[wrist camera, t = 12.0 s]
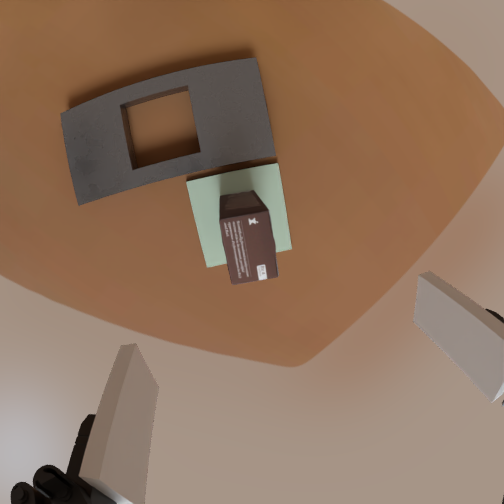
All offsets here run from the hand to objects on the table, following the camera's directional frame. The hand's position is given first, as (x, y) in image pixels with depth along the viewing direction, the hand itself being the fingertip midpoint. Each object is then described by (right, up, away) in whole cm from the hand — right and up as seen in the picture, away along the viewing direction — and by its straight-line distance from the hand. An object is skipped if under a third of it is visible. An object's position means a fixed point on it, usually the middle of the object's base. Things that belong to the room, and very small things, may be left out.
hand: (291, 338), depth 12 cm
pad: (-3, +8, +23) cm, 25 cm away
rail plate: (-12, +18, +18) cm, 28 cm away
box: (-3, +8, +23) cm, 24 cm away
